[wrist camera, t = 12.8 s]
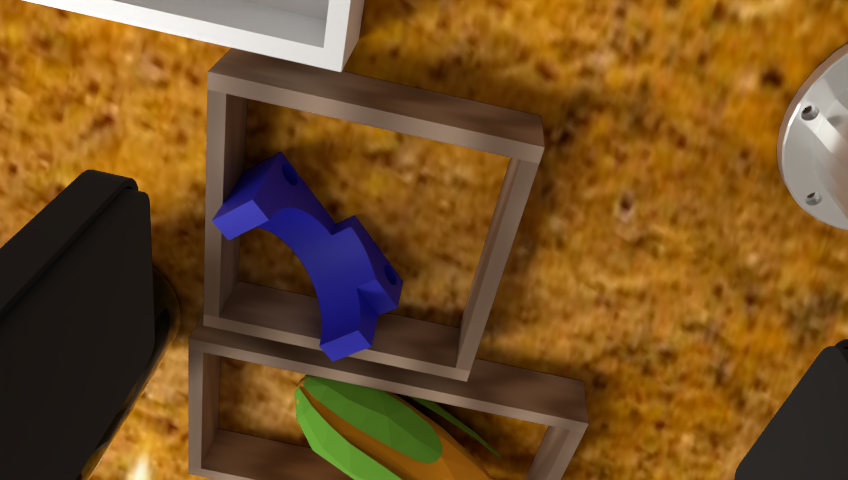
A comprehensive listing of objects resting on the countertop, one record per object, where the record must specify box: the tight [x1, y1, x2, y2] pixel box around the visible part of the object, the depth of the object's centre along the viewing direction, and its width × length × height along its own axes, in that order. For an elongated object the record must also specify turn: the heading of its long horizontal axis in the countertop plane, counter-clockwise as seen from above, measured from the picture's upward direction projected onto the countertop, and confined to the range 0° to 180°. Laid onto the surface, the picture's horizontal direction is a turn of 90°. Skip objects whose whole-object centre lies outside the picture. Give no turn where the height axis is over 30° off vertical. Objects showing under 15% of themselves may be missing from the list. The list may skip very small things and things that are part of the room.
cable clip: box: [212, 152, 403, 362], centre depth 43 cm, size 12×4×6 cm, turn 31°
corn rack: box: [189, 312, 589, 480], centre depth 53 cm, size 28×15×4 cm, turn 79°
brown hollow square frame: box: [203, 48, 545, 382], centre depth 43 cm, size 18×18×4 cm
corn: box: [295, 374, 501, 480], centre depth 52 cm, size 7×8×20 cm
